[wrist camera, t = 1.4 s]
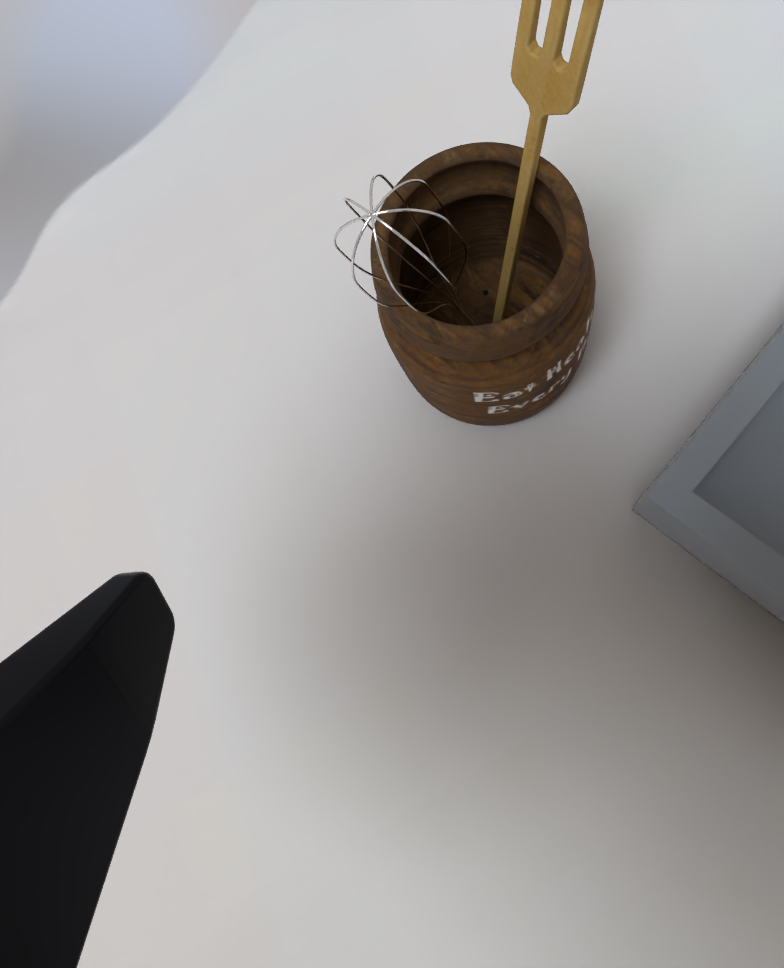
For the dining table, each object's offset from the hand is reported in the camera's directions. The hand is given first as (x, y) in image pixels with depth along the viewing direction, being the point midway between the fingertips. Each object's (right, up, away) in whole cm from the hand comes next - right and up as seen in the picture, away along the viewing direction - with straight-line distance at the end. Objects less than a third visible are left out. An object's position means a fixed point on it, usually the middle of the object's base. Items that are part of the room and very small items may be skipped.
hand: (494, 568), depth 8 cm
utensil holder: (+2, +6, +14) cm, 16 cm away
